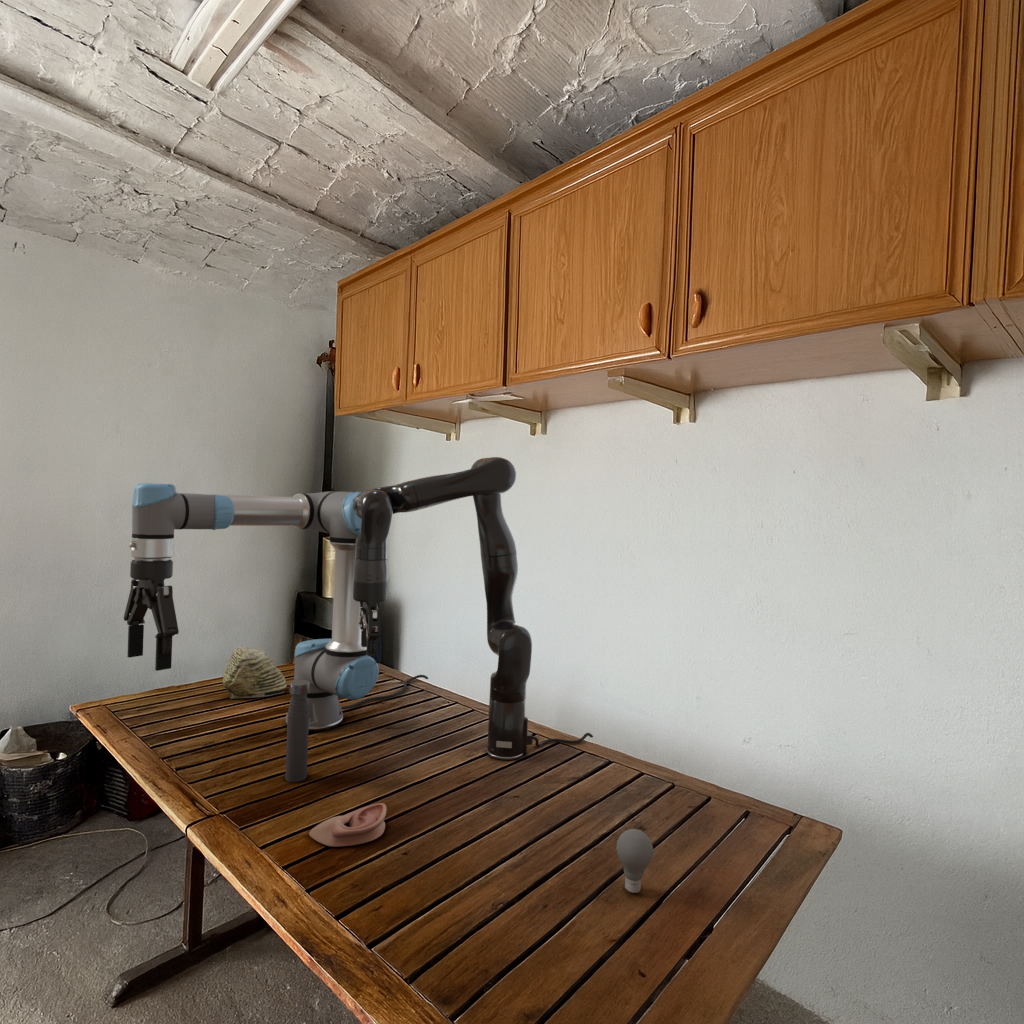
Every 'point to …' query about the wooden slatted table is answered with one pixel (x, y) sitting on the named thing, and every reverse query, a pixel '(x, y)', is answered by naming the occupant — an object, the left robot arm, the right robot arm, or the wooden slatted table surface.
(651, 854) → the light bulb
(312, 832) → the anatomical model
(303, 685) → the cap
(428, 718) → the wooden slatted table surface
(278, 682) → the fossil
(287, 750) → the bottle
